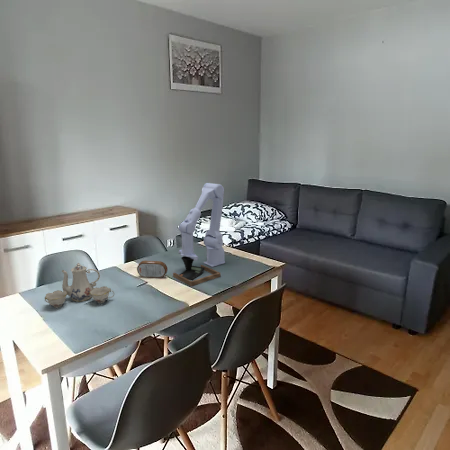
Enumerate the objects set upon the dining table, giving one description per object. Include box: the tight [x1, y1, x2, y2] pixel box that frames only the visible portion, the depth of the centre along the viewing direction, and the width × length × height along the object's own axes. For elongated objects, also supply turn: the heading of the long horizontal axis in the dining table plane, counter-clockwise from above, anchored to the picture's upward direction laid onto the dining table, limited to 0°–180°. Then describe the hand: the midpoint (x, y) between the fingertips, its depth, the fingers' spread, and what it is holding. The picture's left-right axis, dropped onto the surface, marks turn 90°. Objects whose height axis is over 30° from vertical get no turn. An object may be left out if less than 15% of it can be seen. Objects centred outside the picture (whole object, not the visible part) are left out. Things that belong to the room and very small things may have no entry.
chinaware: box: [44, 262, 115, 309], centre depth 158 cm, size 28×17×17 cm, turn 108°
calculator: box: [178, 265, 205, 281], centre depth 187 cm, size 9×12×3 cm
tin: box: [136, 260, 168, 279], centre depth 183 cm, size 15×3×8 cm, turn 84°
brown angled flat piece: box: [172, 264, 222, 287], centre depth 184 cm, size 18×16×2 cm
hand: (188, 270), depth 189 cm, fingers closed
